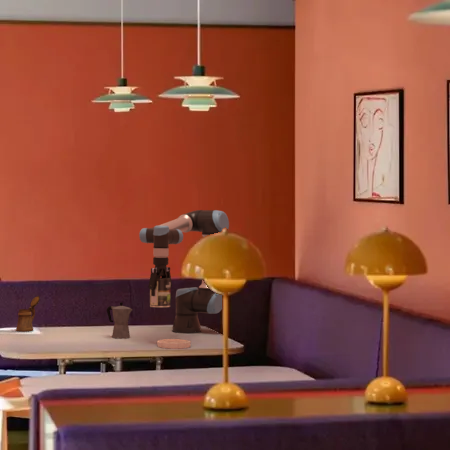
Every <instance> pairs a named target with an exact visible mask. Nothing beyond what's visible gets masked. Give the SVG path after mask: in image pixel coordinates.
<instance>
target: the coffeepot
mask: <svg viewBox="0 0 450 450" xmlns="http://www.w3.org/2000/svg"><path fill="white" fill-rule="evenodd" d="M111 311H112V315H111ZM131 312H133V308H131V307H128V306H125V305H124V302H122V301H120V302H119V305H118V306H112V305H109V306H108V307H107V308H106V313H107V317H108V321H109V322H110V323H114V325H113V328H112V329H113V330H112V335H111V338H113V339H117V340H118V339H119V340H121V339H122V340H123V339H130V338H131V336H130V335H131V334H130V327H129V323H128V322H129V320H130V314H131ZM112 318H113V320H112Z"/></svg>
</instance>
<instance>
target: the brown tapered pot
mask: <svg viewBox="0 0 450 450" xmlns="http://www.w3.org/2000/svg"><path fill="white" fill-rule="evenodd" d="M39 303H40V295H37V296H35V297H34V298H32V300H31V302H30V306H29V307H28V308H21V309H20V308H19V309H18V313H17V315H18V317H17V324H16V328H15V331H16V332H20V333H21V332H23V333H27V332H33V331H34V326H33V321H34V318H35V316H36V310H35V307H37V305H38V304H39Z"/></svg>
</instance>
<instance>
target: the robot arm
mask: <svg viewBox="0 0 450 450" xmlns="http://www.w3.org/2000/svg"><path fill="white" fill-rule="evenodd" d="M225 227H226V228H227V229H228V230H229V229H230V228H229V227H230V221H229V218H228V215H227V213H226V212H224V211H223V210H217V209H215V210H213V209H211V210H208V209H206V210H205V209H204V210H203V209H196V210H192V211H189V212H187V213H183V214H181V215H179V216H178V217H177V218H176V219H173V220H169V221H167V222H164V223H162V224H159V225H155V226H153V227H143V228H141V230H140V231H139V240H140V242H141V243H144V244H153V251H152V252H153V253H152V254H153V255H152V256H153V257H152V258H153V259H152V265H154V267H153V268H152V267H151V268H150V277H149V280H148V281H149V282H148V289H149V290H150V289H151V303H157V290H156V287H157V281H155V279H159V278H160V277H162V278H171V279H172V276H171V267H170V266H169V267H167V266H168V265H169V256H170V255H169V247H170V245H179V244H180V243H182V242H183V240H184V233H188V232H189V233H190V232H199V233H201V236H202V237H203V238H204V237H205V236H207V235H210V234H214V233H218V232H221V231H222V229H223V228H225ZM172 286H173V283H172V281H171V287H172ZM222 309H223V308H222V295H219V294H216V293H214V292H213V291H211V290H210V289H209V288H208V287H207V285H206V284H205V283H204V281H203V280H202V279H201V284H200V285H199V286H198V287H196V286H195V287H184V288H177V289H176V293H175V318H174V321H173V324H172V328H171V331H172V332H175V333H183V334H185V333H187V334H189V333H193V334H194V333H201V331H202V328H201V323H200V321H199V315H198V313H200V314H201V313H202V314H210V315H212V314H213V315H214V314H218V313H220V312H221V311H222Z"/></svg>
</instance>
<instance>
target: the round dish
mask: <svg viewBox="0 0 450 450" xmlns="http://www.w3.org/2000/svg"><path fill="white" fill-rule="evenodd" d="M191 343H192V341H191V340H188V339H179V338H177V339H176V338H169V339H168V338H166V339H160V340H159V339H158V340H157V348H160V349H170V350H171V349H173V350H174V349H177V350H179V349H180V350H181V349H188V348H191Z"/></svg>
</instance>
